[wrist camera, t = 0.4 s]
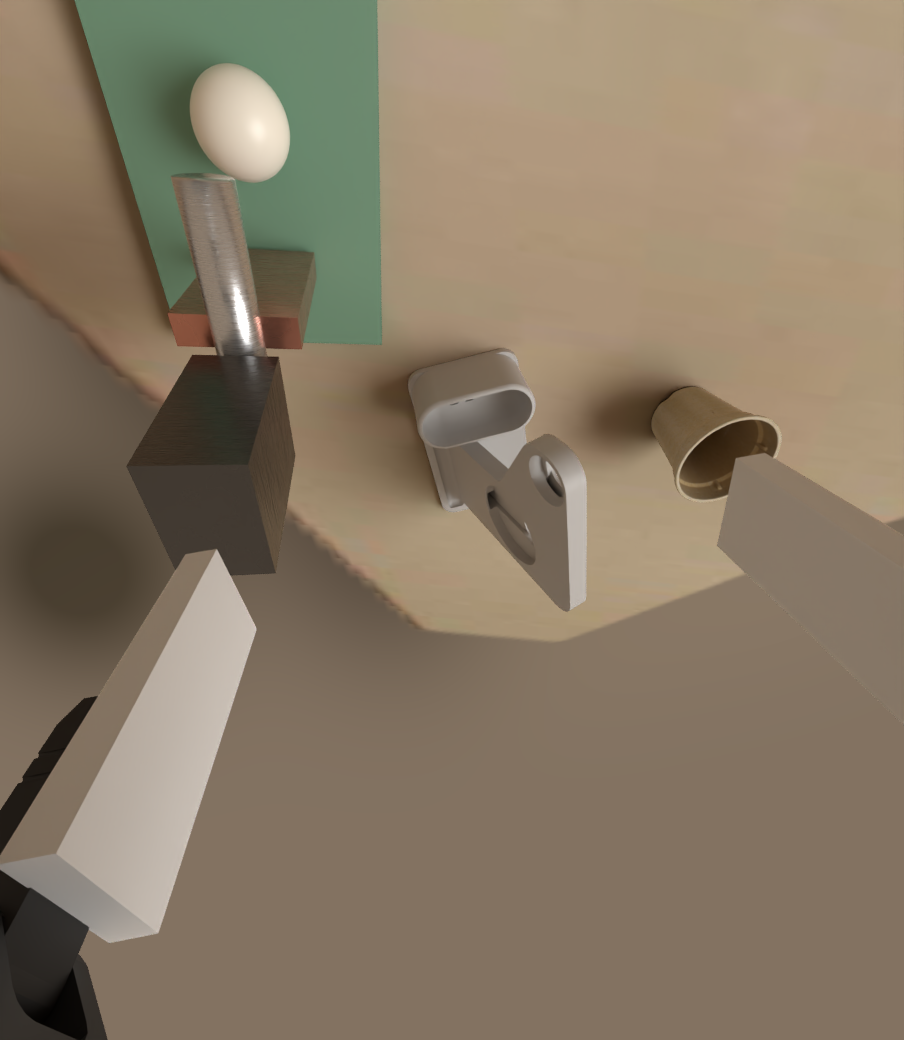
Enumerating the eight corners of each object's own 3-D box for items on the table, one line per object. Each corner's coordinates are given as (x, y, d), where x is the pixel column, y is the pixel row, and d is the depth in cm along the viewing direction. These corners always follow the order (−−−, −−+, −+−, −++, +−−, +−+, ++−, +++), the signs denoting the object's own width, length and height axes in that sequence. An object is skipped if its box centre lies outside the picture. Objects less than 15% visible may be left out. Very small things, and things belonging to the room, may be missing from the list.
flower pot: (724, 351, 44) (783, 397, 38) (729, 425, 50) (781, 475, 44) (627, 399, 46) (669, 449, 40) (644, 464, 52) (682, 516, 46)
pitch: (-101, -629, 15) (-262, -875, 11) (369, -483, 18) (372, -643, 14) (184, 331, 36) (163, 362, 32) (381, 337, 39) (383, 367, 35)
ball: (218, 37, 25) (194, 32, 22) (307, 108, 27) (300, 114, 24) (191, 137, 28) (166, 146, 24) (275, 194, 30) (264, 210, 26)
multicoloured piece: (197, 140, 27) (-29, 233, 11) (304, 150, 28) (233, 249, 12) (244, 356, 36) (154, 579, 20) (324, 358, 37) (299, 572, 21)
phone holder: (402, 369, 41) (423, 506, 28) (516, 340, 41) (590, 464, 28) (444, 510, 53) (471, 651, 40) (531, 488, 53) (588, 624, 40)
